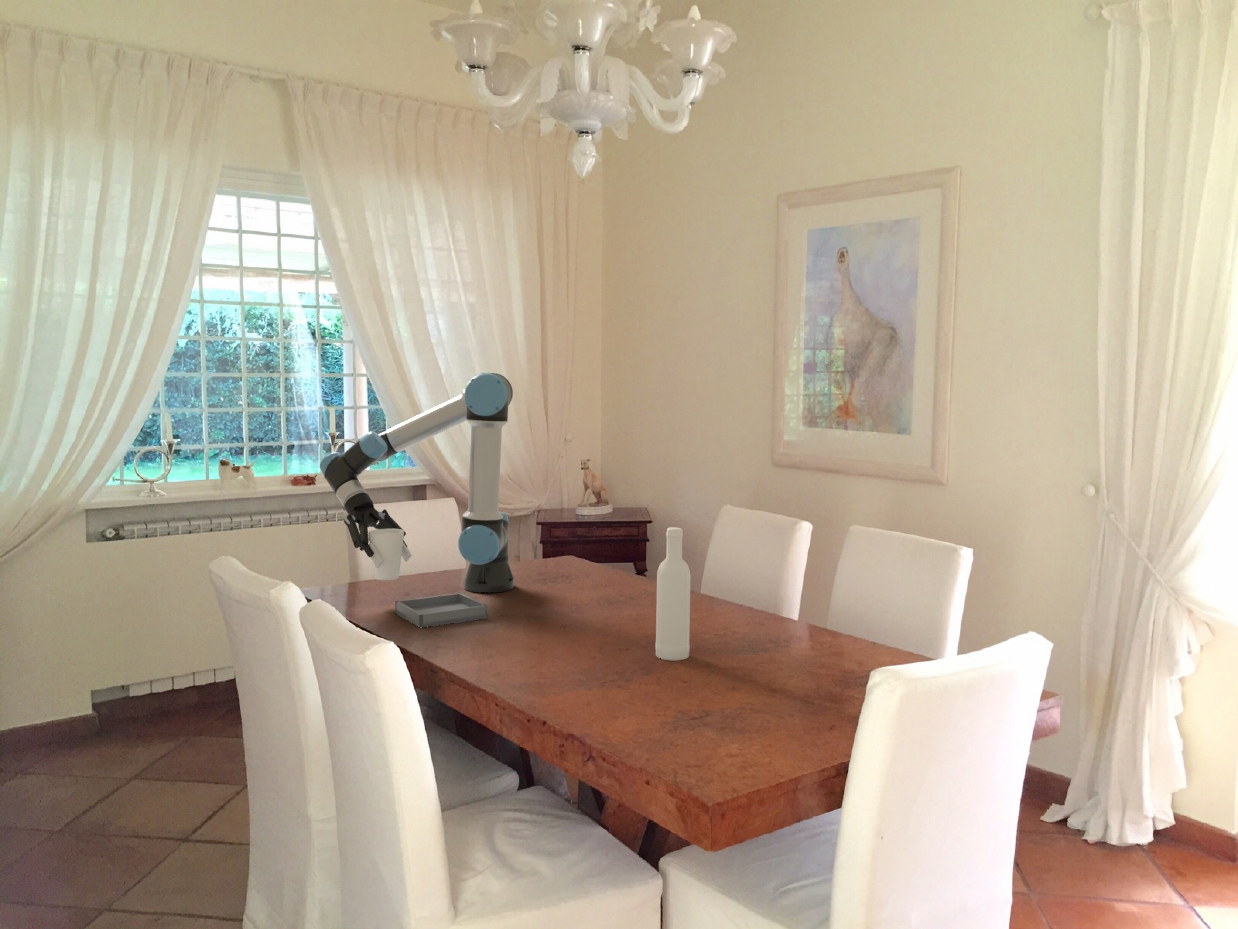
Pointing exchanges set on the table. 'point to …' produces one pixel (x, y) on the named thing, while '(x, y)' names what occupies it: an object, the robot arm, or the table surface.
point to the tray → (441, 610)
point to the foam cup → (388, 552)
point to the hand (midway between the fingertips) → (394, 561)
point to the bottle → (673, 601)
